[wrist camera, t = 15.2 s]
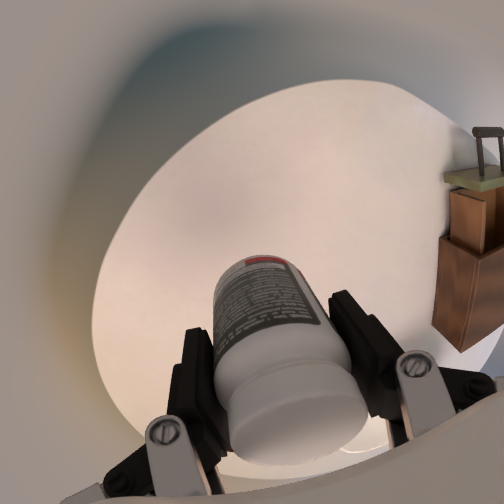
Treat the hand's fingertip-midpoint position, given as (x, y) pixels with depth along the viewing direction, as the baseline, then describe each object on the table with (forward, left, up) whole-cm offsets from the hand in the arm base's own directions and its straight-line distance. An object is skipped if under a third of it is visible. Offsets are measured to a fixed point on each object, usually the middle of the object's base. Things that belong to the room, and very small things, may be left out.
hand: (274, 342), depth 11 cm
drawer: (-13, +31, -19) cm, 39 cm away
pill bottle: (0, 0, -4) cm, 4 cm away
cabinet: (-2, +38, -20) cm, 43 cm away
